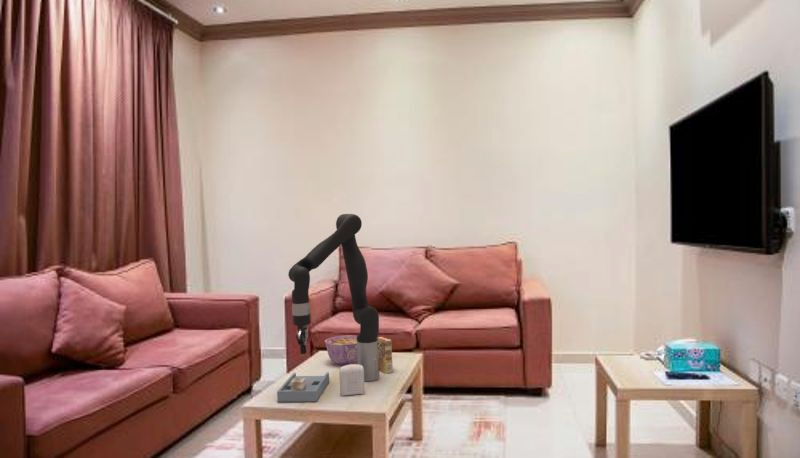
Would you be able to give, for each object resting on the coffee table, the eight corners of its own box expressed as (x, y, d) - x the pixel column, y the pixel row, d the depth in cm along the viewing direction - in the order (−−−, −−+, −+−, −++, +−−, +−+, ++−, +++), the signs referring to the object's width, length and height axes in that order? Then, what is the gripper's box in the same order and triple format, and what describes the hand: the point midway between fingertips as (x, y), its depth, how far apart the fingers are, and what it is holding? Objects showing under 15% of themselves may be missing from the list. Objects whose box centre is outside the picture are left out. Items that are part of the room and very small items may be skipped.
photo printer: (363, 391, 247) (362, 362, 247) (365, 394, 243) (364, 364, 243) (339, 393, 245) (338, 364, 244) (340, 396, 241) (339, 367, 240)
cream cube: (306, 390, 241) (305, 378, 241) (303, 394, 236) (302, 381, 236) (294, 390, 242) (293, 378, 242) (290, 394, 237) (290, 382, 237)
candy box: (393, 372, 274) (392, 339, 273) (385, 373, 271) (384, 341, 271) (383, 368, 281) (382, 336, 280) (375, 369, 279) (374, 337, 278)
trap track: (329, 382, 261) (328, 372, 261) (316, 402, 235) (316, 391, 235) (293, 382, 262) (293, 372, 262) (277, 402, 236) (277, 391, 236)
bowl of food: (356, 369, 280) (355, 345, 280) (318, 367, 286) (317, 343, 286) (371, 358, 299) (370, 336, 299) (335, 356, 305) (334, 334, 305)
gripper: (306, 316, 240) (308, 357, 241) (313, 309, 254) (315, 349, 255) (288, 316, 241) (291, 358, 242) (296, 310, 254) (298, 349, 255)
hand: (303, 353), depth 248 cm, fingers closed
